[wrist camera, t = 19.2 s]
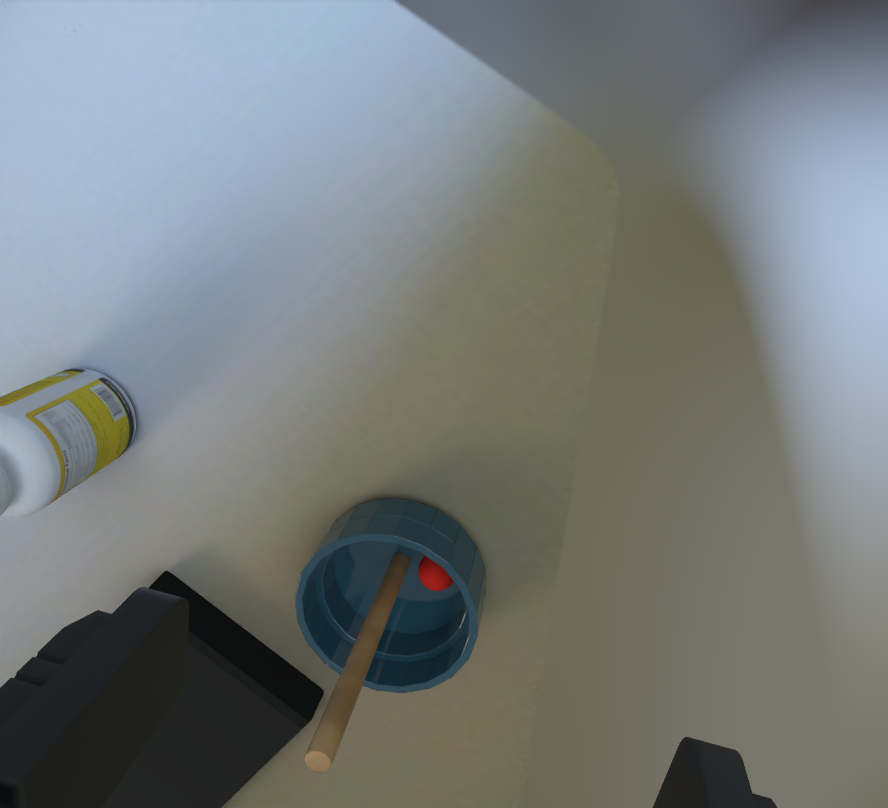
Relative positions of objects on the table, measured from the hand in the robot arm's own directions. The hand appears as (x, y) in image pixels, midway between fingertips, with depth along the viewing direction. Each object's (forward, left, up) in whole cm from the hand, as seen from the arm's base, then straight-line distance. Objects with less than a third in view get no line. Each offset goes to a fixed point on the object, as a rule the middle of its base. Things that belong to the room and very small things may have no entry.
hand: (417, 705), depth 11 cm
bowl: (+14, -13, -30) cm, 35 cm away
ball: (+13, -10, -28) cm, 32 cm away
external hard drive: (+22, -35, -30) cm, 51 cm away
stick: (+13, -12, -29) cm, 34 cm away
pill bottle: (-2, -29, -30) cm, 41 cm away
